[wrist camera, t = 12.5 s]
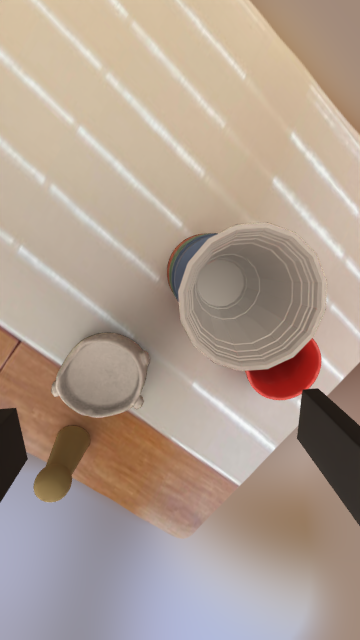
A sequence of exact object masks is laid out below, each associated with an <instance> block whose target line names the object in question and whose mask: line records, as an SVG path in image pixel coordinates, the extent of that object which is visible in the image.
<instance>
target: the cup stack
mask: <svg viewBox="0 0 360 640" xmlns="http://www.w3.org/2000/svg"><path fill="white" fill-rule="evenodd" d="M217 234H218V233H214V234H198V235H194V236H192V237H189V238H187V239H185V240H184V241H183V242H181V243H180V244H179V245H178V246H177V247H176V248H175V250H174V251H173V253H172V254H171V257H170V259H169V262H168V267H167V277H168V282H169V286H170V288H171V290H172V292H173V294H174V295H175V297H176V299H177V300H178V302H179V297H178V291H179V287H180V284H181V281H182V278H183V275H184V272H185V269H186V266H187V263H188V262H189V261H190V259H191V258H192V257H193V256H194V255H195V254H196V252H197V251H198V250H199V249H200V248H201V247H202V245H203V244H204V243H205V242H206V241H207V240H208V239H209V238H211V237H213V236H215V235H217Z"/></svg>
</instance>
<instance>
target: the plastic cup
mask: <svg viewBox="0 0 360 640" xmlns="http://www.w3.org/2000/svg"><path fill="white" fill-rule="evenodd" d="M326 291H327V280H326V277H325V274H324V272H323V269H322V266H321V264H320V261H319V259H318V256H317V253H316V252H315V251H314V250H313V249H312V248H311V247H310V246H309V245H308V244H307V243H306V242H305V241H304V240H303V239H302V238H300V237H299V236H298V235H297V234H296V233H295V232H293V231H290V230H287V229H284V228H282V227H279V226H276V225H273V224H271V223H268V222H263V223H250V224H236V225H234V226H232V227H230V228H228V229H226V230H224V231H222V232H220V233H219V234H217V235H215V236H213V237H211V238H209V239H208V240H207V241H206V242H205V243H204V244H203V245H202V247H201V248H200V249H199V250H198V251H197V252H196V254H195V255H194V256H193V257H192V258H191V259H190V261H189V262H188V263H187V266H186V269H185V272H184V275H183V278H182V281H181V284H180V287H179V291H178V297H179V310H180V321H181V323H182V325H183V327H184V329H185V331H186V333H187V335H188V337H189V339H190V341H191V343H192V345H193V346H194V347H195V348H197V349H198V350H199V351H200V352H201V353H203V354H204V355H205V356H206V357H207V358H209V359H210V360H211V361H212V362H213V363H216V364H219V365H222V366H225V367H228V368H232V369H235V370H238V371H249V370H262V369H269V368H271V367H273V366H275V365H278V364H280V363H282V362H284V361H286V360H288V359H291V358H293V357H294V356H295V355H296V354H297V353H298V352H299V351H300V350H301V349H302V348H303V347H304V346H305V345H306V344H307V343H308V342H309V341H310V340H311V339H312V338H313V337H314V335H315V333H316V331H317V328H318V326H319V324H320V322H321V319H322V317H323V315H324V313H325V310H326Z"/></svg>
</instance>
